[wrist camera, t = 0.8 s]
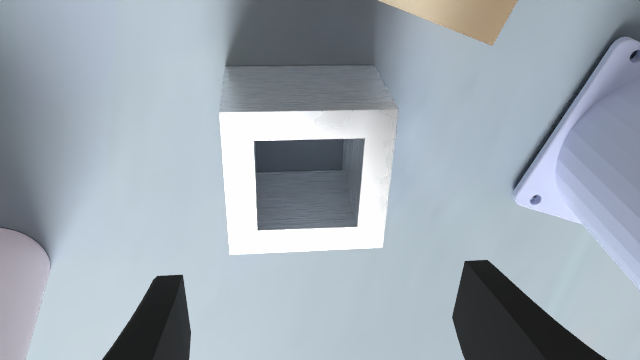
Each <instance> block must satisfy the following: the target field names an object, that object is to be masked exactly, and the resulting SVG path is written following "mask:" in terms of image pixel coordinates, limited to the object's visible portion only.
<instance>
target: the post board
mask: <svg viewBox="0 0 640 360" xmlns="http://www.w3.org/2000/svg"><path fill="white" fill-rule="evenodd" d="M378 1H381V2H383V3H386V4H388V5H391V6H393V7H396V8H398V9H401V10H403V11H406V12H408V13H411V14H414V15H416V16H419V17H421V18H424V19H426V20H429V21H431V22H434V23H436V24H439V25H441V26H444V27H446V28H449V29H451V30H454V31H456V32H459V33H461V34H464V35H466V36H469V37H471V38H474V39H477V40H479V41H482V42H484V43H487V44H489V45H493V44H494V42H495V40H496V38H497V37H498V35H499V33H500V31H501V29H502V28H503V26H504V24H505V22H506V20H507V19H508V17H509V15H510V13H511V12H512V10H513V8H514V6H515V4H516V3H517V1H518V0H378Z"/></svg>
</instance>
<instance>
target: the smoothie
mask: <svg viewBox="0 0 640 360" xmlns="http://www.w3.org/2000/svg"><path fill="white" fill-rule="evenodd" d="M49 273H50V261H49V258H48V255H47V254H46V252H45V251H44V249H43V248H42V247H41V246H40V245H39V244H38V243H37V242H36V241H34V240H33V239H32V238H30V237H28V236H26V235H24V234H22V233H20V232H17V231H14V230H10V229H4V228H0V360H26V357H27V353H28V350H29V346H30V342H31V339H32V335H33V331H34V328H35V324H36V320H37V317H38V313H39V309H40V306H41V302H42V298H43V295H44V291H45V287H46V284H47V280H48V276H49Z"/></svg>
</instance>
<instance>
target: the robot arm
mask: <svg viewBox="0 0 640 360" xmlns="http://www.w3.org/2000/svg"><path fill="white" fill-rule="evenodd" d="M636 50H637V53H636V55H635V56H634V57H633V58H632V59H630V56H631V54H632V53H633V52H634V51H636ZM535 195H537V197H536V198H535V199H532V200H530V199H531V198H532V197H533V196H535ZM513 199H514V200H515V202H516V203H517V204H518V205H520V206H524V207H527V208H530V209H534V210H537V211H540V212H544V213H547V214H550V215H554V216H557V217H560V218H563V219H567V220H570V221H573V222H577V223H580V224H583V225H584V226H585V227H586V229H587V230H588V231H589V232H590V233H591V234H592V236H593V237H594V238H595V239H596V240H597V241H598V242H599V244H600V245H601V246H602V247H603V248H604V249H605V251H606V252H607V253H608V254H609V255H610V256H611V258H612V259H613V260H614V261H615V262H616V263H617V264H618V266H619V267H620V268H621V269H622V270H623V271H624V273H625V274H626V275H627V276H628V277H629V278H630V280H631V281H632V282H633V283H634V284H635V285H636V286H637V288H638V289H639V290H640V42H639V41H637V40H635V39H632V38H630V37H621V38H619V39H617V40H616V41H615V42H614V43H613V44H612V45H611V46H610V48H609V49H608V51H607V52H606V54H605V55H604V57H603V58H602V60H601V61H600V63H599V64H598V66H597V67H596V69H595V70H594V72H593V73H592V75H591V76H590V78H589V79H588V81H587V82H586V84H585V85H584V87H583V88H582V90H581V91H580V93H579V94H578V95H577V97H576V98H575V100H574V101H573V103H572V104H571V106H570V107H569V109H568V110H567V112H566V113H565V115H564V116H563V118H562V119H561V121H560V122H559V124H558V125H557V127H556V128H555V130H554V131H553V133H552V134H551V136H550V137H549V139H548V140H547V142H546V143H545V145H544V146H543V148H542V149H541V151H540V152H539V154H538V155H537V157H536V158H535V160H534V161H533V163H532V164H531V166H530V167H529V169H528V170H527V172H526V173H525V174H524V176H523V177H522V179H521V180H520V182H519V183H518V185H517V186H516V188H515V189H514V191H513ZM452 318H453V322H454V326H455V329H456V333H457V337H458V340H459V343H460V347H461V350H462V353H463V356H464V358H465V360H607V359H605V358H604V357H602V356H601V355H599V354H598V353H597V352H595V351H594V350H592V349H591V348H590V347H588V346H587V345H586V344H584V343H583V342H582V341H581V340H579V339H578V338H577V337H575V336H574V335H573V334H572V333H570V332H569V331H568V330H566V329H565V328H564V327H563V326H562V325H560V324H559V323H558V322H557V321H555V320H554V319H553V318H552V317H551V316H550V315H548V314H547V313H546V312H545V311H544V310H543V309H541V308H540V307H539V306H538V305H537V304H536V303H535V302H533V301H532V300H531V299H530V298H529V297H528V296H527V295H526V294H524V293H523V292H522V291H521V290H520V289H519V288H518V287H517V286H516V285H515V284H513V283H512V282H511V281H510V280H509V279H508V278H507V277H506V276H505V275H504V274H503V273H501V272H500V271H499V270H498V269H497V268H496V267H495V266H494V265H493V264H491V263H490V262H489V261H488V260H477V261H465V263H464V267H463V272H462V276H461V281H460V285H459V289H458V294H457V298H456V303H455V307H454V312H453V316H452ZM190 339H191V330H190V323H189V316H188V309H187V302H186V295H185V287H184V280H183V275H169V276H157V277H156V278H155V279H154V280H153V281H152V283H151V285H150V287H149V289H148V291H147V292H146V294H145V296H144V298H143V299H142V301H141V303H140V305H139V306H138V308H137V309H136V311H135V313H134V314H133V316H132V317H131V319H130V321H129V322H128V324H127V325H126V326H125V328H124V329H123V331H122V332H121V334H120V335H119V337H118V338H117V340H116V341H115V343H114V344H113V346H112V347H111V348H110V350H109V351H108V352H107V354H106V355H105V356H104V358H103V359H102V360H189V354H190Z"/></svg>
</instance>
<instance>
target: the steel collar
mask: <svg viewBox="0 0 640 360" xmlns="http://www.w3.org/2000/svg"><path fill="white" fill-rule="evenodd" d="M398 110H399V109H398V108H397V106H396V104H395V102H394V100H393V98H392V97H391V95H390V93H389V91H388V89H387V87H386V86H385V84H384V82H383V80H382V78H381V76H380V74H379V73H378V71H377V69H376V67H375V65H342V66H225V71H224V79H223V87H222V95H221V103H220V111H219V115H220V129H221V142H222V155H223V168H224V181H225V194H226V207H227V220H228V233H229V246H230V254H248V253H270V252H292V251H315V250H337V249H360V248H382V246H383V238H384V229H385V221H386V212H387V204H388V195H389V187H390V178H391V170H392V161H393V153H394V144H395V135H396V127H397V118H398ZM311 139H344V147H343V164H342V170H321V171H287V172H256V147H255V141H267V140H311Z"/></svg>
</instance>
